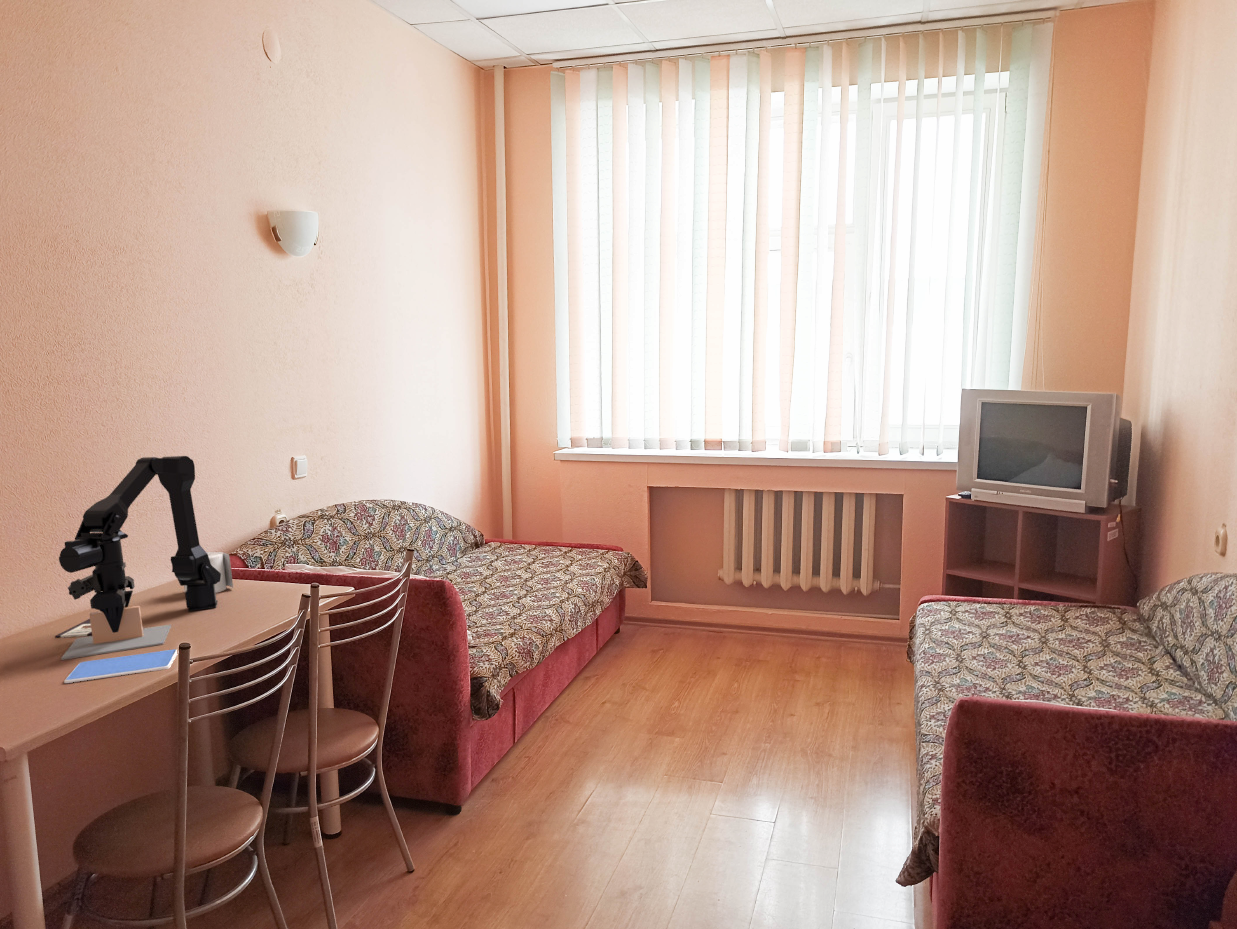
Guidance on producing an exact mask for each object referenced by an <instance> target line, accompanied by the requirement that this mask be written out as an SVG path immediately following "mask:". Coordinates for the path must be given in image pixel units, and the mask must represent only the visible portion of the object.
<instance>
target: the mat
mask: <svg viewBox="0 0 1237 929" xmlns="http://www.w3.org/2000/svg"><path fill="white" fill-rule="evenodd" d="M171 627H172V624H166V625H165V624H164V625H159V626H152V627H151V626H150V627H145V628H144V627H143V634H144V635H143V637H137V638H130V639H123V640H117V641H110V642H104V643H97V644H93V637H92V636H81V637H75V639H74V641H73V642H72V643H71V645H70V647H68V649H67V650H66V651H65V653H64V654H63V655H62V657H60V660H61V661H64V660H72V659H76V658H77V659H79V658H83V657H91V656H97V655H104V654H111V653H117V652H123V651H129V650H135V649H142V648H143V649H144V648H149V647H156V646H161V645H164V643H165V641H166V640H167V637H168V635H169V632H170V630H171Z"/></svg>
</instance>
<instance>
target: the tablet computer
mask: <svg viewBox="0 0 1237 929" xmlns="http://www.w3.org/2000/svg"><path fill="white" fill-rule="evenodd" d="M177 650H178V649H168V650H160V651H153V652H146V653H138V654H131V655H125V656H118V657H117V656H116V657H108V658H103V659H102V658H100V659H95V660H94V659H93V660H86V661H81V662H78V664H77V665H76V666H75V667H74V668H73V670H72V671H71V672H70V673H69V675H68V676H66V678H65V679H64V681H63V684H73V682H74V683H81V682H86V681H87V680H88V681H93V680H94V679H95V680H100V679H106V678H114V677H121V675H122V676H128V674H129V675H135V673H136V674H141V673H149V672H150V671H151V672H155V671H164V670H168V669H170V668H171V666H172V665H173V662H175V659H176V658H177V656H178V654H177ZM80 681H81V682H80ZM88 681H87V682H88Z"/></svg>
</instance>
